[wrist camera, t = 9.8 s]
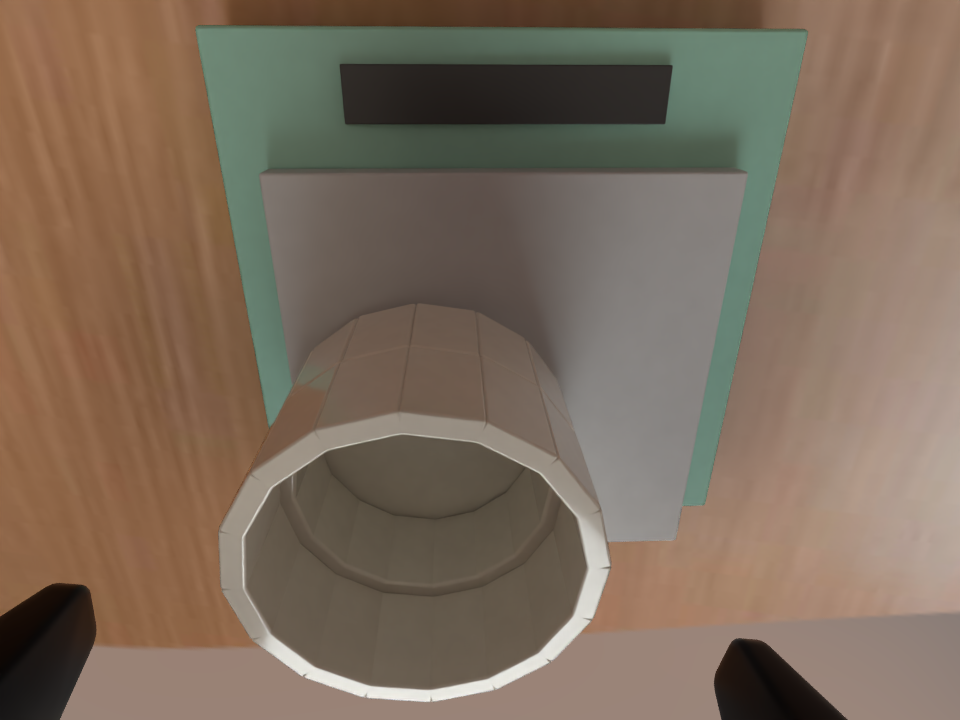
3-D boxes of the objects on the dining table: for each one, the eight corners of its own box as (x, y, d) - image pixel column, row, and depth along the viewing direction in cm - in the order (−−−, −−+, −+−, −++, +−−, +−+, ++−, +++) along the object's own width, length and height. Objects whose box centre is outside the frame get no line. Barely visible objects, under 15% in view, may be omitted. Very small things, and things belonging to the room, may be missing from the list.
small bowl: (532, 533, 15) (561, 712, 11) (290, 510, 14) (223, 690, 10) (588, 316, 12) (657, 440, 8) (296, 275, 12) (211, 388, 8)
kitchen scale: (678, 481, 17) (710, 540, 15) (303, 490, 17) (281, 551, 15) (763, 34, 12) (830, 26, 10) (228, 30, 12) (177, 22, 10)
